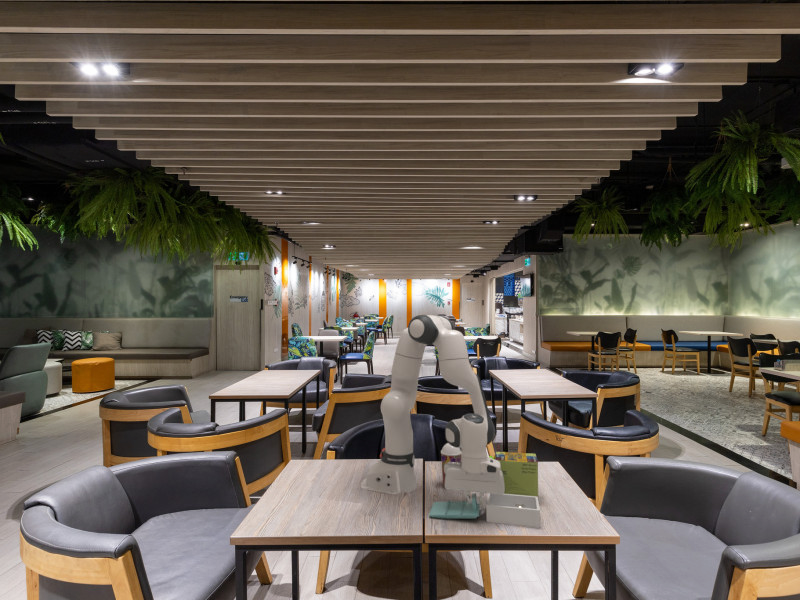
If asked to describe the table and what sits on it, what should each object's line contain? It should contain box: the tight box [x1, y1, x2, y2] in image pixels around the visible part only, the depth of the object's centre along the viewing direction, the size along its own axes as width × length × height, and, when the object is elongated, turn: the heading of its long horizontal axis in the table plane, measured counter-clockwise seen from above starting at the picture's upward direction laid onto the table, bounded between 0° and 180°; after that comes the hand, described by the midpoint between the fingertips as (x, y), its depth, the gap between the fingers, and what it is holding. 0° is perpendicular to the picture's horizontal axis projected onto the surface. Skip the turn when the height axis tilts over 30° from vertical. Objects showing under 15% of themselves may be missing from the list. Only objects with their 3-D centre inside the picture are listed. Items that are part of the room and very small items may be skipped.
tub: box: [485, 493, 541, 529], centre depth 155 cm, size 17×11×6 cm, turn 77°
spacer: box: [515, 504, 525, 508], centre depth 156 cm, size 3×3×3 cm
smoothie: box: [440, 442, 462, 486], centre depth 183 cm, size 8×8×20 cm
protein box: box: [494, 451, 539, 498], centre depth 172 cm, size 10×15×16 cm
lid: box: [429, 492, 481, 519], centre depth 157 cm, size 16×10×6 cm, turn 77°
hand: (474, 504), depth 155 cm, fingers closed on lid
